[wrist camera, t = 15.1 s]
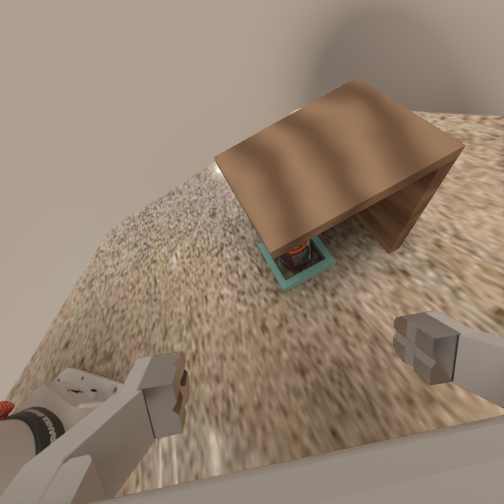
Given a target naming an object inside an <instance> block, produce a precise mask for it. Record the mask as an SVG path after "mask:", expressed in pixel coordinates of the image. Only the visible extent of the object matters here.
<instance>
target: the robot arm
mask: <svg viewBox="0 0 504 504" xmlns="http://www.w3.org/2000/svg"><path fill="white" fill-rule="evenodd" d="M394 328H395V329H396V331H397V333H396V334H395V336H394V337H393V346H394V349H395V351H396V353H397V355H398V356H399V358H400V359H401V360H402V361H403V362H404V363H407V364H409V365H411V366H413V368H414V372H415V373H416V374H418V375H419V376H420V377H421V378H422V379H423V380H424V381H425V382H426V383H427V384H429V385H435V384H441V383H448V382H453V383H454V384H456V385H458V386H460V387H462V388H464V389H466V390H468V391H470V392H472V393H474V394H476V395H478V396H480V397H482V398H484V399H486V400H488V401H490V402H492V403H494V404H496V405H498V406H500V407H502V408H504V337H502V336H498V335H494V334H490V333H486V332H482V331H479V332H476V331H474V330H472V329H471V328H469V327H467V326H465V325H463V324H461V323H459V322H457V321H455V320H454V319H452V318H450V317H448V316H446V315H444V314H442V313H440V312H439V311H434V310H432V311H426V312H421V313H418V314H412V315H406V316H401V317H396V319H395V321H394ZM185 362H186V361H185V356H184V353H183V352H182V351H181V352H174V353H167V354H160V355H154V356H153V355H152V356H146V357H140V358H138V359H137V360H136V362H135V364H134V366H133V367H132V369H131V371H130V373H129V375H128V377H127V379H126V381H125V382H124V383H123V382H120V381H117V380H114V379H110V378H107V377H104V376H101V375H97V374H94V373H91V372H88V371H85V370H81V369H78V368H75V367H70V368H67V369H65V370H64V371H62V372H61V373H60V374H59V375H58V376H57V377H56V378H55V379H54V380H53V381H52V382H48V383H44V384H42V385H40V386H38V387H37V388H36V389H34V390H33V391H32V392H31V393H30V394H29V395H28V397H27V398H26V399H25V400H24V401H23V403H22V404H21V405H20V407H19V408H18V410H17V411H16V413H15V414H13V415H11V416H8V414H9V413H10V412H11V411H12V410H13V408H14V407H15V404H14V403H12V402H8V401H2V402H0V504H504V415H502V416H498V417H493V418H488V419H483V420H479V421H474V422H469V423H464V424H460V425H455V426H450V427H445V428H441V429H436V430H431V431H426V432H421V433H417V434H412V435H407V436H403V437H398V438H393V439H388V440H384V441H379V442H374V443H370V444H365V445H360V446H355V447H351V448H346V449H341V450H337V451H332V452H327V453H322V454H318V455H313V456H308V457H304V458H299V459H294V460H289V461H285V462H280V463H275V464H271V465H266V466H261V467H256V468H252V469H247V470H242V471H238V472H233V473H228V474H223V475H219V476H214V477H209V478H205V479H200V480H195V481H190V482H186V483H181V484H176V485H171V486H167V487H162V488H157V489H153V490H148V491H143V492H138V493H134V494H129V495H124V496H120V497H115V498H114V496H115V495H116V494H117V492H118V491H119V490H120V488H121V487H122V485H123V484H124V483H125V481H126V480H127V479H128V477H129V476H130V474H131V473H132V472H133V470H134V469H135V468H136V466H137V465H138V463H139V462H140V461H141V459H142V458H143V456H144V455H145V454H146V452H147V451H148V450H149V448H150V447H151V445H152V444H153V443H154V441H155V439H157V438H162V437H166V436H171V435H175V434H180V433H183V429H184V423H185V418H186V410H185V405H186V404H187V402H188V400H189V386H190V385H189V376H188V372H187V371H186V370H185V369H184V367H185ZM116 388H117V391H116ZM7 416H8V417H7Z"/></svg>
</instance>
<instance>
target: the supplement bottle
mask: <svg viewBox="0 0 504 504" xmlns="http://www.w3.org/2000/svg"><path fill="white" fill-rule="evenodd" d="M278 257H279V260H280V262H281V264H282V265H283V266H284V267H285V268H287V269H290V270H299V269H302V268H304V267H305V266H306V265H307V264H308V263H309V261H310V258H311V250H310V240H307V241H306V242H304V243H302V244H300V245H298V246H296V247H295V248H293V249H291V250H289V251H287V252H286V253H284V254H282V255H280V256H278Z"/></svg>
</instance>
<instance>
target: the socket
mask: <svg viewBox="0 0 504 504" xmlns="http://www.w3.org/2000/svg"><path fill="white" fill-rule="evenodd" d="M309 240H310V242H311V243H312V245H313V246H314V247H315V249H316V250H317V252H318V253H319V254H320V256H321V257H322V258H323V260H322V261H320V262H319V263H317V264H315V265H313V266H311V267H309V268H308V269H306V270H304V271H302V272H300V273H298V274H297V275H295V276H293V277H291V278H289V279H288V280H286V281H285V279H284V277H283V275H282V274H281V272H280V270H279V269H278V267H277V265H276V264H275V262H274V260H273V259H272V257H271V255H270V254H269V252H268V250H267V248H266V247H265V245H264V243H263V242H261V243H259V244H257V245H258V247H259V249H260V251H261V253H262V255H263V256H264V258H265V260H266V262H267V263H268V265H269V267H270V269H271V270H272V272H273V274H274V276H275V277H276V279H277V281H278V283H279V285H280V286H281V288H282V290H283V292H284V293H285V292H287V291H289V290H291V289H293V288H294V287H296V286H298V285H300V284H302V283H304V282H305V281H307V280H309V279H311V278H313V277H314V276H316V275H318V274H320V273H322V272H324V271H325V270H327V269H329V268H331V267H333V266H335V265H336V260H335V258H334V257H333V256H332V254H331V253H330V252H329V250H328V249H327V248H326V246H325V245H324V244H323V242H322V241H321V240H320V239H319V237H318V236H317V235H316V236H315V237H313V238H311V239H309Z"/></svg>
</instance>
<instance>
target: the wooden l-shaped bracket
mask: <svg viewBox="0 0 504 504" xmlns="http://www.w3.org/2000/svg"><path fill="white" fill-rule="evenodd" d="M464 147H465V145H464V144H463V143H461V142H460V141H458V140H456V139H455V138H453V137H451V136H450V135H448V134H447V133H445V132H443V131H442V130H440V129H439V128H437V127H435V126H434V125H432V124H431V123H429V122H427V121H426V120H424V119H423V118H421V117H419V116H418V115H416V114H414V113H413V112H411V111H410V110H408V109H406V108H405V107H403V106H402V105H400V104H398V103H397V102H395V101H394V100H392V99H390V98H389V97H387V96H385V95H384V94H382V93H380V92H379V91H377V90H376V89H374V88H373V87H371V86H369V85H368V84H366V83H365V82H363V81H361V80H360V79H358V78H355V79H353V80H352V81H350V82H348V83H346V84H344V85H342V86H341V87H339V88H337V89H335V90H334V91H332V92H330V93H328V94H326V95H325V96H323V97H321V98H319V99H317V100H316V101H314V102H312V103H310V104H308V105H307V106H305V107H303V108H301V109H300V110H298V111H296V112H294V113H292V114H291V115H289V116H287V117H285V118H283V119H282V120H280V121H278V122H276V123H274V124H273V125H271V126H269V127H267V128H266V129H264V130H262V131H260V132H259V133H257V134H255V135H253V136H251V137H249V138H248V139H246V140H244V141H242V142H241V143H239V144H237V145H235V146H233V147H232V148H230V149H228V150H226V151H225V152H223V153H221V154H219V155H217V156H215V157H214V159H215V161H216V163H217V165H218V167H219V169H220V170H221V172H222V174H223V175H224V177H225V179H226V180H227V182H228V184H229V186H230V187H231V189H232V191H233V192H234V194H235V196H236V197H237V199H238V201H239V203H240V204H241V206H242V208H243V209H244V211H245V213H246V214H247V216H248V218H249V220H250V221H251V223H252V225H253V226H254V228H255V230H256V231H257V233H258V235H259V237H260V238H261V240H262V242H263V243H264V245H265V247H266V248H267V250H268V252H269V254H270V255H271V257H272V259H275V258H276V257H278V256H280V255H282V254H284V253H286V252H287V251H289V250H291V249H293V248H295V247H296V246H298V245H300V244H302V243H304V242H306V241H307V240H309V239H311V238H313V237H315V236H316V235H318V234H320V233H322V232H324V231H326V230H327V229H329V228H331V227H333V226H335V225H336V224H338V223H340V222H342V221H344V220H345V219H347V218H349V217H351V216H353V215H354V216H355V217H356V219H357V220H358V221H359V222H360V223H361V224H362V225H363V226H364V227H365V228H366V229H367V231H368V232H369V233H370V234H371V235H372V236H373V237H374V238H375V239H376V240H377V241H378V243H379V244H380V245H381V246H382V247H383V248H384V249H385V250H386V251H387V252H388V253H391V252H393V251H395V250H397V249H399V248H400V246H401V245H402V243H403V241H404V240H405V238H406V237H407V235H408V234H409V232H410V231H411V229H412V228H413V226H414V224H415V223H416V221H417V220H418V218H419V217H420V215H421V214H422V212H423V210H424V209H425V207H426V206H427V204H428V203H429V201H430V200H431V198H432V197H433V195H434V193H435V192H436V190H437V189H438V187H439V186H440V184H441V183H442V181H443V180H444V178H445V176H446V175H447V173H448V172H449V170H450V169H451V167H452V166H453V164H454V162H455V161H456V159H457V158H458V156H459V155H460V153H461V152H462V150H463V149H464Z"/></svg>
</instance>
